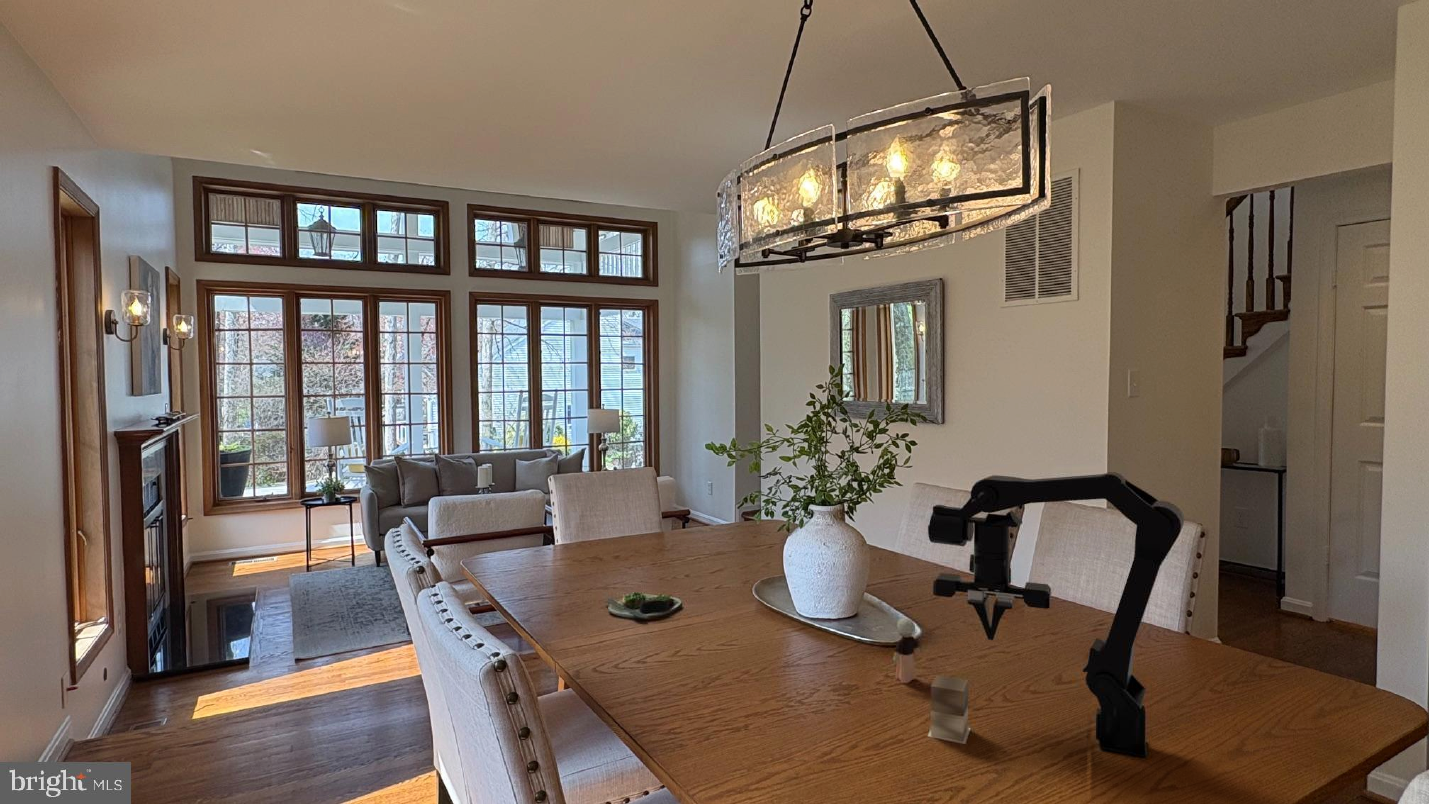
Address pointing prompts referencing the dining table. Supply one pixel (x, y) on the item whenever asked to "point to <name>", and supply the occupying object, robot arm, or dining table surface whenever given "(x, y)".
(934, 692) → the walnut block
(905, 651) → the grandmother figurine
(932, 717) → the maple block
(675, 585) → the dining table surface
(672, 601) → the salad plate
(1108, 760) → the dining table surface
